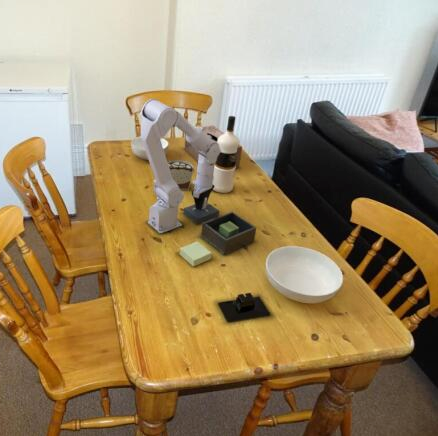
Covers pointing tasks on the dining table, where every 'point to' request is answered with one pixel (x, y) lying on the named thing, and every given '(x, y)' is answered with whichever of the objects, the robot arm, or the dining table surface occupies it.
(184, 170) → the food container
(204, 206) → the dial knob
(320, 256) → the serving bowl
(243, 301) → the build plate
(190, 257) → the mint block
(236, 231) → the cube
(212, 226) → the black storage bin
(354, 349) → the dining table surface
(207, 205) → the rotary dial base
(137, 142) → the cereal bowl
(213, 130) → the tissue box cover
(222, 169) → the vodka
